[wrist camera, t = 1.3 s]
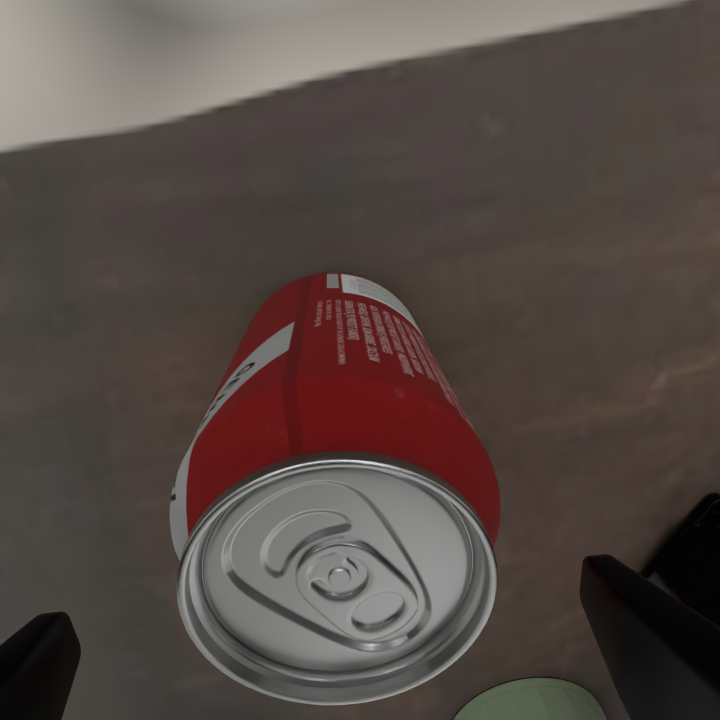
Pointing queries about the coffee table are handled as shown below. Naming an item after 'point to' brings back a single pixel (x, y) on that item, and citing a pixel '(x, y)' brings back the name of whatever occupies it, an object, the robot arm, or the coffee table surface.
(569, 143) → the coffee table surface
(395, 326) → the soda can
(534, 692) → the crock
